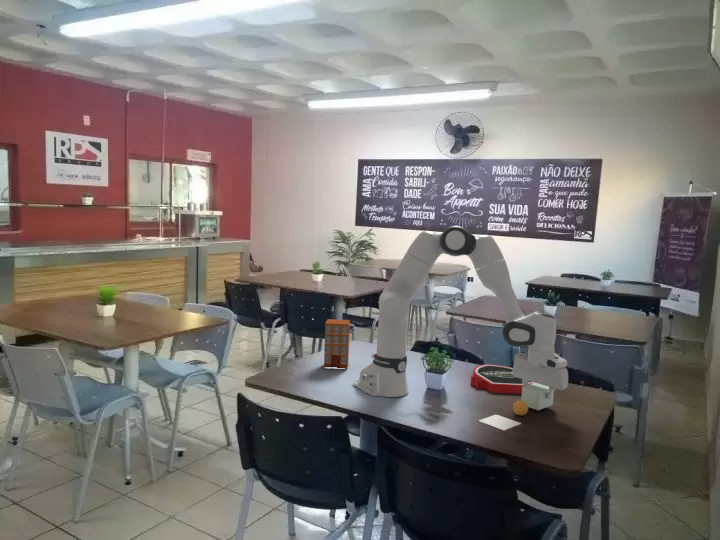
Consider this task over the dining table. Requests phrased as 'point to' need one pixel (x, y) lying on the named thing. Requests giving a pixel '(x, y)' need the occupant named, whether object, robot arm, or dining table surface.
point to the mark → (499, 422)
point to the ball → (520, 408)
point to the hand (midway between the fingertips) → (537, 395)
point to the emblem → (496, 379)
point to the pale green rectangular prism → (536, 396)
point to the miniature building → (336, 343)
